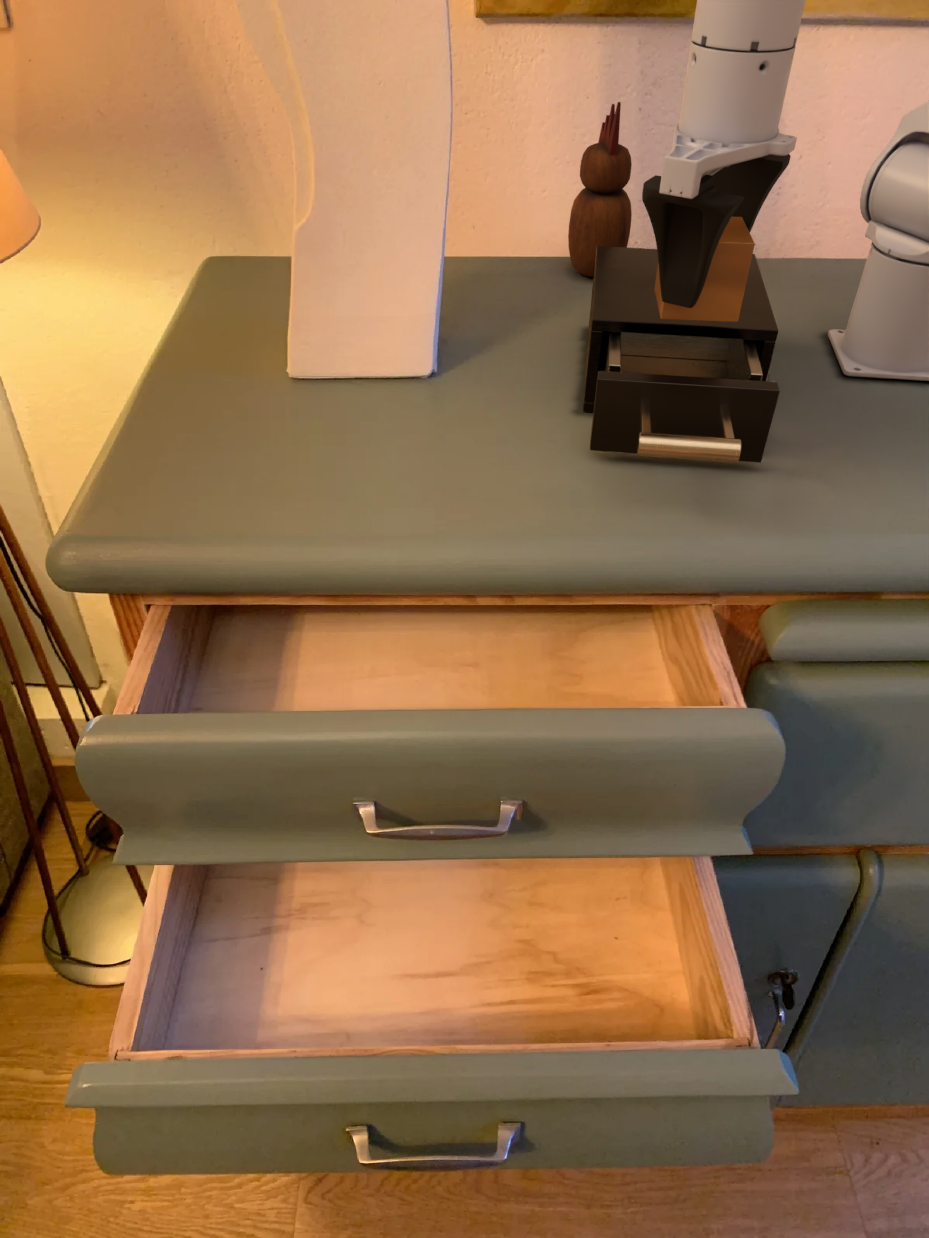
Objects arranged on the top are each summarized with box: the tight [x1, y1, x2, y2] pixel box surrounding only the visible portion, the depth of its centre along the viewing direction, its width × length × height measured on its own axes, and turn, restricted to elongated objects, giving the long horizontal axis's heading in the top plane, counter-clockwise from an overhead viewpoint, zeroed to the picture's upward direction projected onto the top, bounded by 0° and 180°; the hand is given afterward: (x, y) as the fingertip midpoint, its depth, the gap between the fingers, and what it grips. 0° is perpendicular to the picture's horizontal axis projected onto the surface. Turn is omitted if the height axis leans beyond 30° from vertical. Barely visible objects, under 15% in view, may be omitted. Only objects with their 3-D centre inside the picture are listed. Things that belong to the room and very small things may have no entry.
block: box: [654, 217, 756, 322], centre depth 58 cm, size 5×5×5 cm
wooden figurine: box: [567, 101, 633, 278], centre depth 82 cm, size 7×6×15 cm
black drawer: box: [589, 331, 781, 463], centre depth 61 cm, size 19×11×5 cm, turn 172°
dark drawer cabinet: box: [582, 246, 780, 413], centre depth 69 cm, size 15×13×7 cm
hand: (698, 285), depth 59 cm, fingers closed on block, 7 cm apart
